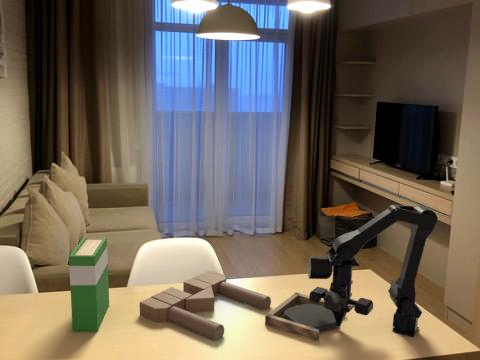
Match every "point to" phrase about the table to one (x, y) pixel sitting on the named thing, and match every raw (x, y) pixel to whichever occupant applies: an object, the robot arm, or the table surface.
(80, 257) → the hardback book
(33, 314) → the table surface
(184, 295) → the wooden block construction
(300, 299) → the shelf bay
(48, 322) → the table surface
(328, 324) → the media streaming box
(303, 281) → the table surface
